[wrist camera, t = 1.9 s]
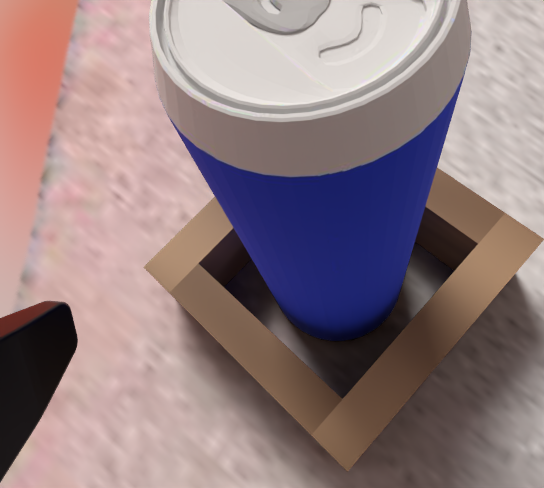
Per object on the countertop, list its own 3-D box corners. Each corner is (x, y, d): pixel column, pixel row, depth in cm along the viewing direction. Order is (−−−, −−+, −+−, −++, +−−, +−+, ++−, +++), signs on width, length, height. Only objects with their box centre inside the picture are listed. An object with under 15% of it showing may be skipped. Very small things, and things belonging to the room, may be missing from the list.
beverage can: (425, 273, 21) (564, -58, 7) (345, 370, 20) (319, 215, 6) (328, 204, 22) (283, -171, 9) (251, 290, 22) (64, 26, 8)
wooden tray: (349, 466, 19) (347, 471, 15) (174, 292, 22) (143, 267, 19) (514, 270, 20) (544, 239, 17) (326, 137, 24) (322, 90, 20)
